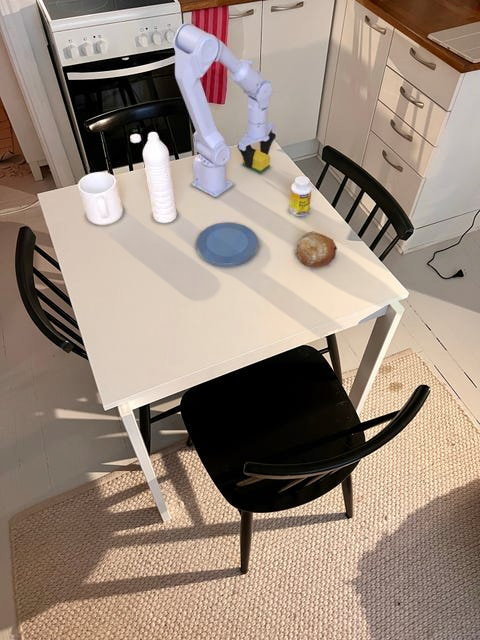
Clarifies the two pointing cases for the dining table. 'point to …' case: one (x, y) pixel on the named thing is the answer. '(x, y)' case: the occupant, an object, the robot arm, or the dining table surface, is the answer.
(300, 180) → the supplement bottle
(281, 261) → the dining table surface
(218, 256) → the plate
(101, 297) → the dining table surface
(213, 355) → the dining table surface
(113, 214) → the mug
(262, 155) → the sponge
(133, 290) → the dining table surface
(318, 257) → the bread roll
